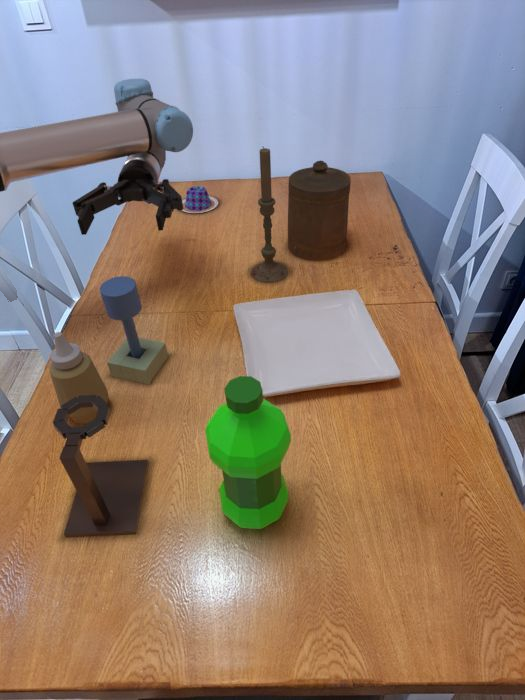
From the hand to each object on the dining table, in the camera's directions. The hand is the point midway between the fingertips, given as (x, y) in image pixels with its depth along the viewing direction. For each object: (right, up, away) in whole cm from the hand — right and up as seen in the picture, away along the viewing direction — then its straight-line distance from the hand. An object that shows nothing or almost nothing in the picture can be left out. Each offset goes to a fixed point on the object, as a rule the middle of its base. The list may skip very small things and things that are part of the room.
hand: (120, 225), depth 85 cm
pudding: (+6, +21, +62) cm, 66 cm away
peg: (+1, -25, +9) cm, 27 cm away
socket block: (+1, -25, +9) cm, 27 cm away
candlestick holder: (+27, -4, +32) cm, 42 cm away
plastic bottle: (+24, -45, -14) cm, 53 cm away
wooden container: (+39, +5, +41) cm, 57 cm away
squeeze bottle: (-6, -33, +1) cm, 34 cm away
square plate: (+34, -22, +11) cm, 42 cm away
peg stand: (+2, -45, -13) cm, 47 cm away
